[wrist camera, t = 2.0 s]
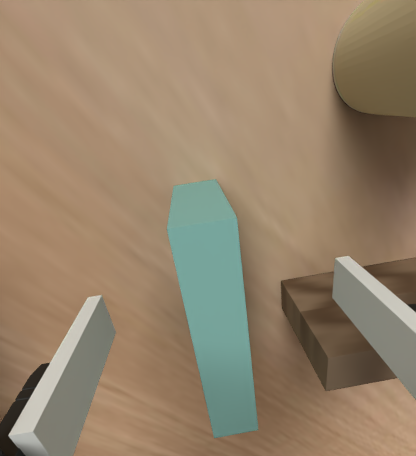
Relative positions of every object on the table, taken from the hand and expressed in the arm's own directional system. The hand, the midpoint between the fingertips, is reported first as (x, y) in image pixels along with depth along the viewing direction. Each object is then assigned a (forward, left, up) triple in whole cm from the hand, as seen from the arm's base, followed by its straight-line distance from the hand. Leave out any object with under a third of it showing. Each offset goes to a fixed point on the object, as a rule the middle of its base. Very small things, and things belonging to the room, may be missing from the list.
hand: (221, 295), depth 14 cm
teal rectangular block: (0, -4, -9) cm, 10 cm away
